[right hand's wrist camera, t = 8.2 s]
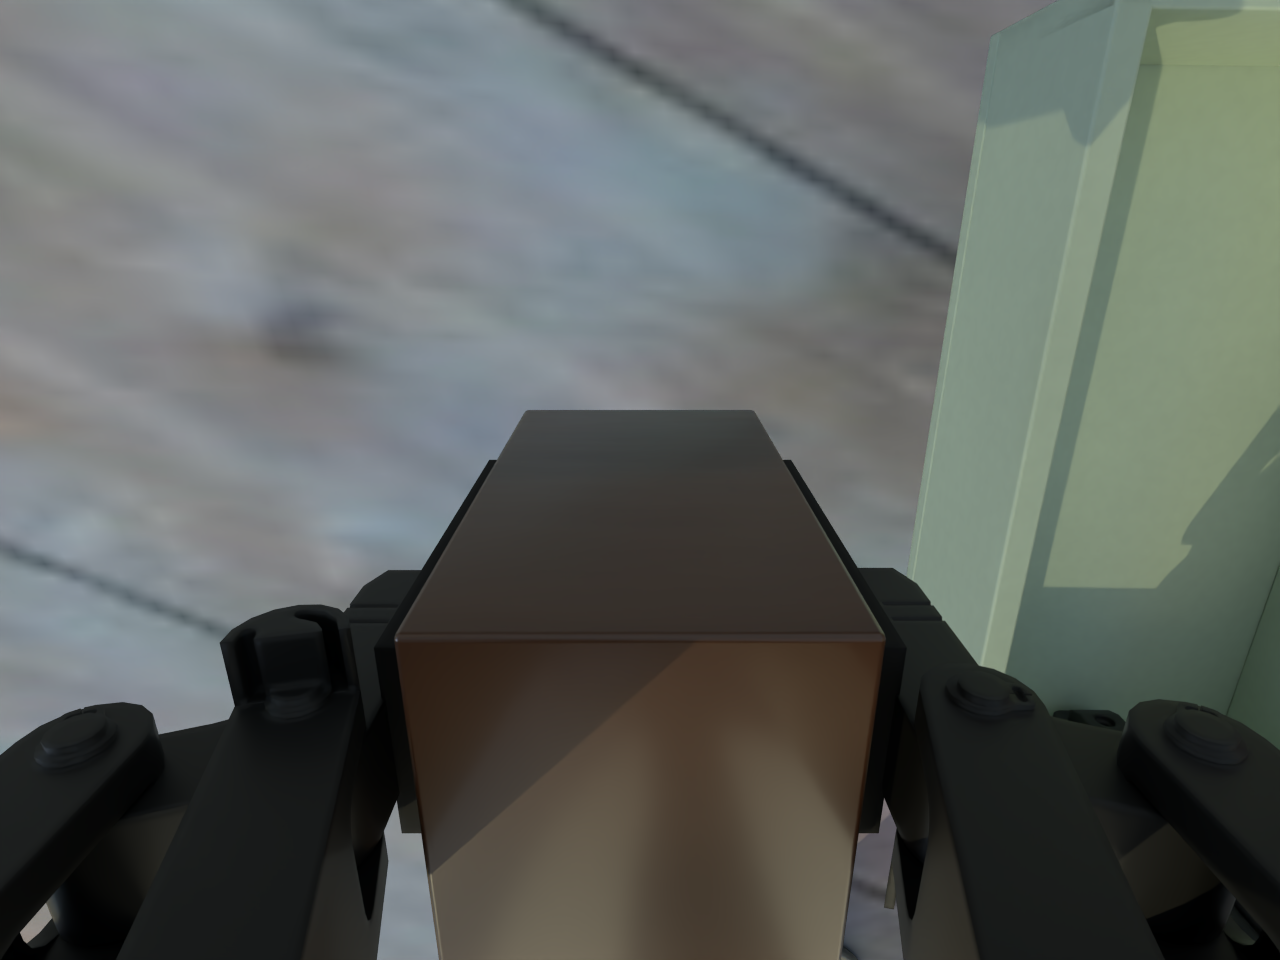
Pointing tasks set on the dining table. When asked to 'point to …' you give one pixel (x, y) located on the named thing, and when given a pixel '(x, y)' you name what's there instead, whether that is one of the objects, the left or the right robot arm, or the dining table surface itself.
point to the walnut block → (639, 700)
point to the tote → (1117, 364)
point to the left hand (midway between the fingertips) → (1071, 734)
